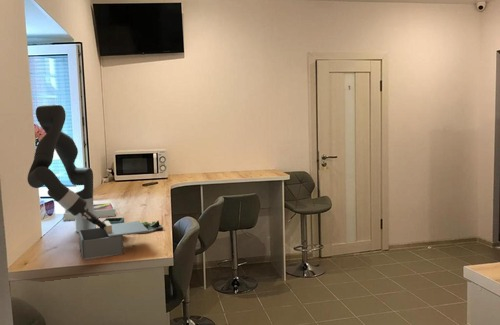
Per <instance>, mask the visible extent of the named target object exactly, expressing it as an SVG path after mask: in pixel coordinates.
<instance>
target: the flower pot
mask: <svg viewBox="0 0 500 325" xmlns="http://www.w3.org/2000/svg"><path fill="white" fill-rule="evenodd" d="M104 221H109V222H110V224H118V223H125V217H105V219H103V221H101V222H103V223H104Z"/></svg>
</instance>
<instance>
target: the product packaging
mask: <svg viewBox="0 0 500 325" xmlns="http://www.w3.org/2000/svg"><path fill="white" fill-rule="evenodd" d="M93 205H94V211H95V216H96V217H97V218H98V219H100V218H99V217H102V218H109V217H108V216H112V217H116V213H115V212H116V211H115V210H116V209H115V206H114V205H113V203H112V202H109V203H99V204H98V203H97V204H95V203H93ZM63 209H64V210H63V221H64V222H69V220H71V221H75V216H74V215H72V214H71V213H70V212H69V211H67V210H66V209H65V208H63Z"/></svg>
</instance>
